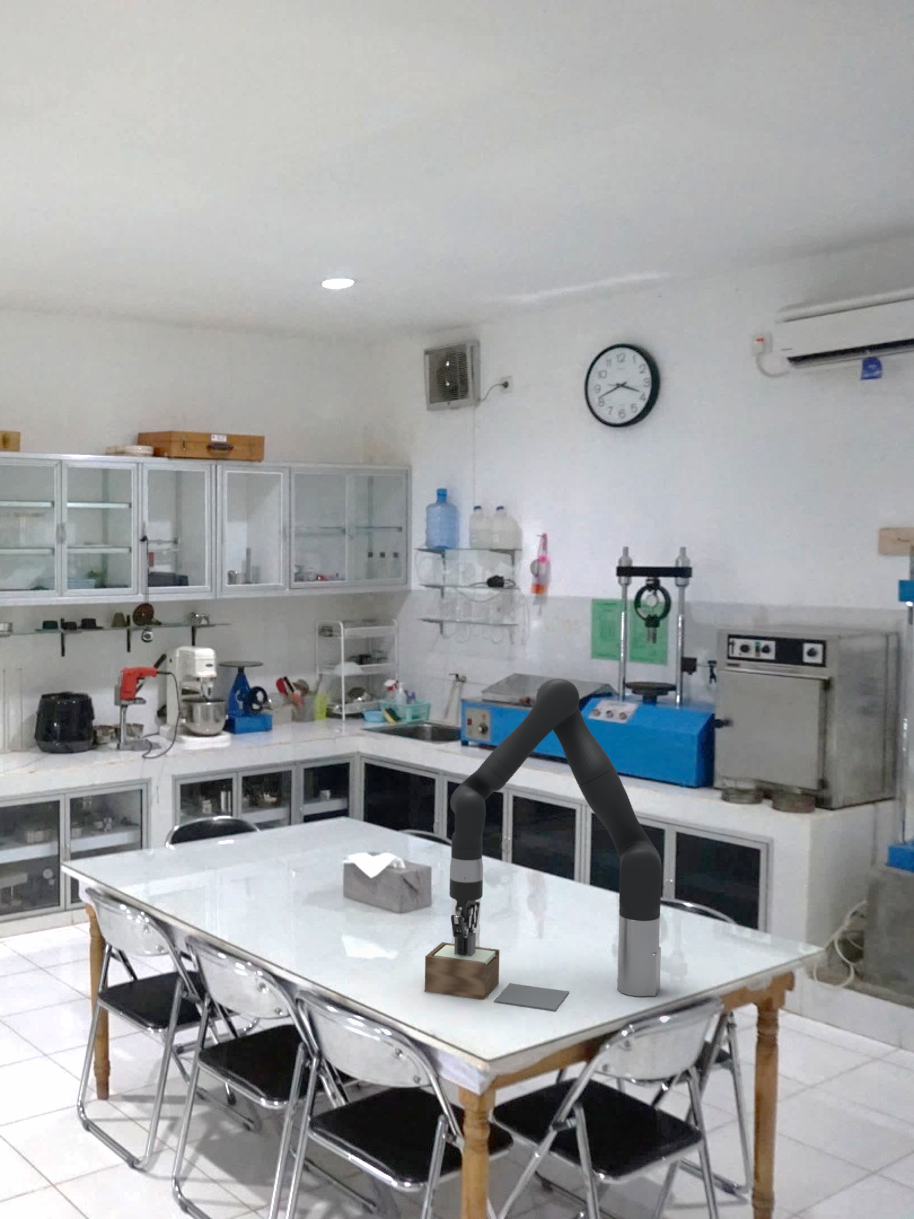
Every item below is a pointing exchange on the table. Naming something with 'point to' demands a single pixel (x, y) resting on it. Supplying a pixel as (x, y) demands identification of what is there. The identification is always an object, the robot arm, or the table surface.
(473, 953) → the lid
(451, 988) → the box
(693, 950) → the table surface
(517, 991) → the mat
